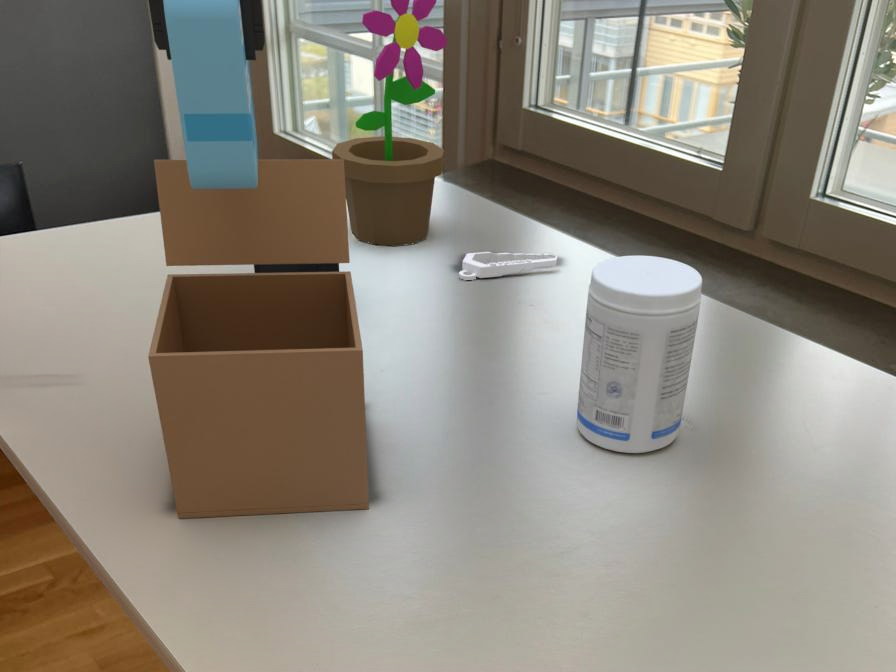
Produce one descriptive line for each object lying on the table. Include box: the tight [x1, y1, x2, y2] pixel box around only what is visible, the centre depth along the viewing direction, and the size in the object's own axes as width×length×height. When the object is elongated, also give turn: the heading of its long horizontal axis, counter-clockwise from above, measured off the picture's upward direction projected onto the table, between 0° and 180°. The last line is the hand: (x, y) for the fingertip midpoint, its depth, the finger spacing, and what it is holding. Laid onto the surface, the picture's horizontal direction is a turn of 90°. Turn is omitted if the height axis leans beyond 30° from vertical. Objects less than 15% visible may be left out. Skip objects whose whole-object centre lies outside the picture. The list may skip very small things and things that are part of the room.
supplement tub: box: [576, 255, 703, 454], centre depth 87 cm, size 10×10×15 cm
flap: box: [153, 159, 351, 267], centre depth 81 cm, size 15×8×1 cm
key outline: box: [458, 251, 558, 281], centre depth 123 cm, size 13×5×2 cm, turn 110°
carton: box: [147, 271, 370, 519], centre depth 81 cm, size 15×16×14 cm
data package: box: [163, 0, 259, 189], centre depth 69 cm, size 12×4×12 cm, turn 10°
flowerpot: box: [331, 0, 448, 246], centre depth 123 cm, size 14×14×30 cm
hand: (212, 56), depth 68 cm, fingers closed on data package, 4 cm apart
